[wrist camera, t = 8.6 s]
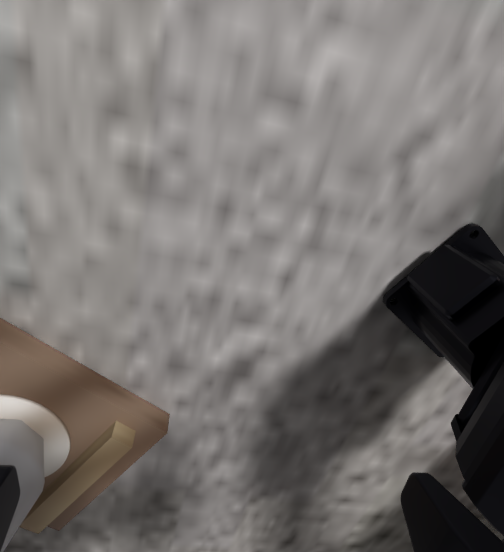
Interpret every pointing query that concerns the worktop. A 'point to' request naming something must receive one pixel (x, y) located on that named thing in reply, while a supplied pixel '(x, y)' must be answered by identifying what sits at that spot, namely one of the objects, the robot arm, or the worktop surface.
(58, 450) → the stand
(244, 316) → the worktop surface
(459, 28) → the worktop surface
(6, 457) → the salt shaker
